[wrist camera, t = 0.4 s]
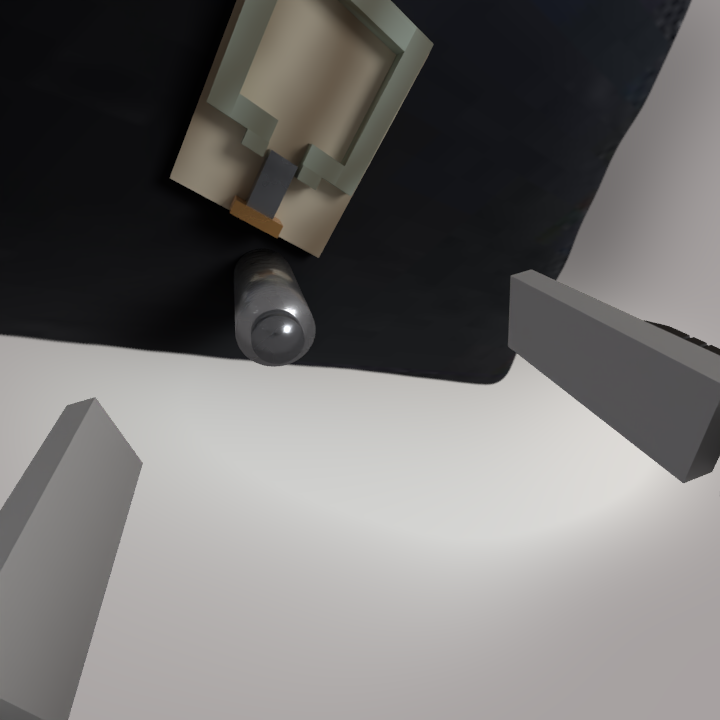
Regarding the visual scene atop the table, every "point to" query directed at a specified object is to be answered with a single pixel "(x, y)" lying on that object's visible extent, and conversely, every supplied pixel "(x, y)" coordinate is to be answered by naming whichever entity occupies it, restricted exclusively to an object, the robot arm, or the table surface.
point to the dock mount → (301, 104)
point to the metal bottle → (270, 310)
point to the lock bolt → (266, 194)
